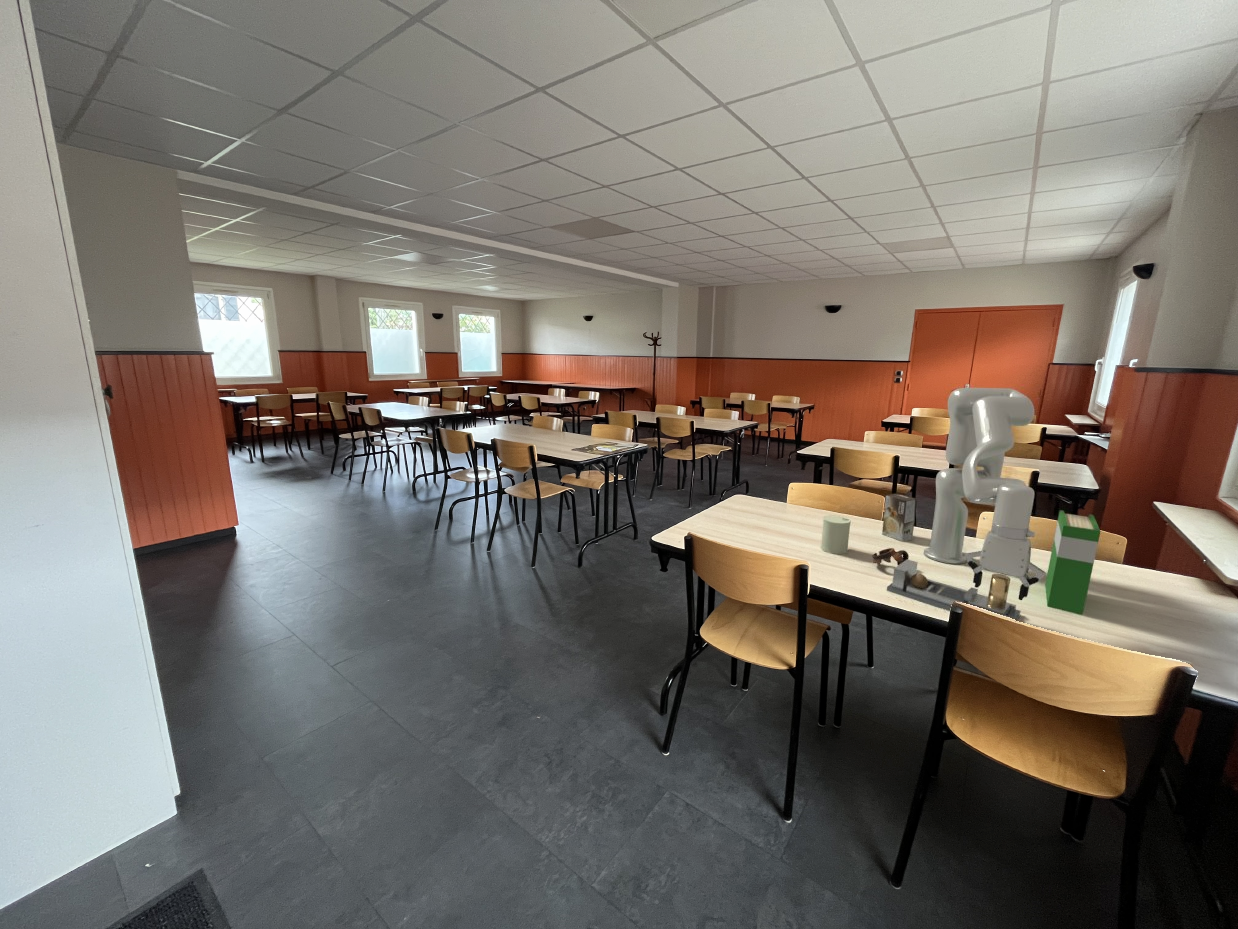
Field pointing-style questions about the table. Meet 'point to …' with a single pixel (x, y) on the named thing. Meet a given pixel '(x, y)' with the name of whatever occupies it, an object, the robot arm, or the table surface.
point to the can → (835, 534)
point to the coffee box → (899, 517)
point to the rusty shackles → (887, 554)
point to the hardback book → (1071, 562)
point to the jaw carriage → (991, 595)
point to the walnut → (919, 581)
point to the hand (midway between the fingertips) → (998, 592)
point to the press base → (930, 590)
